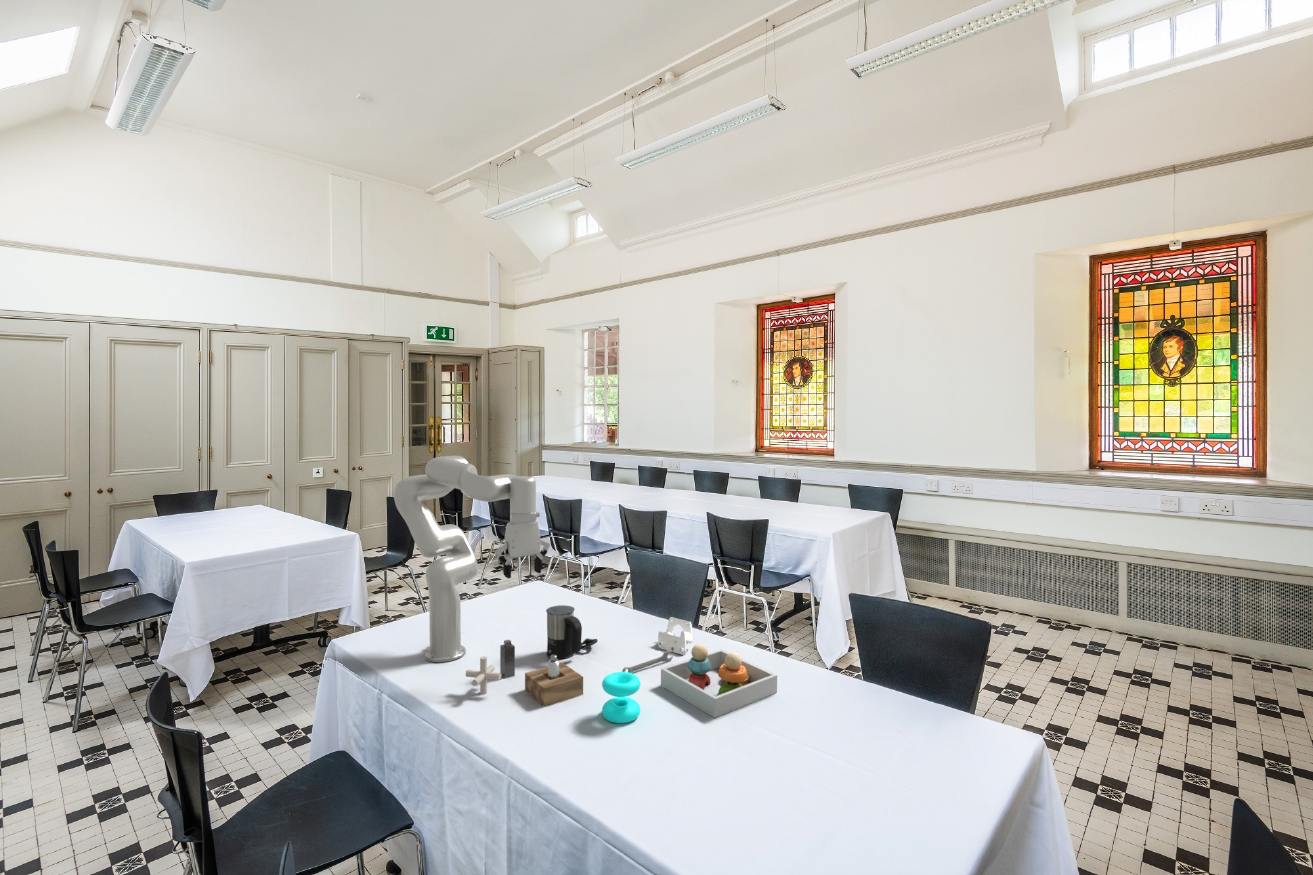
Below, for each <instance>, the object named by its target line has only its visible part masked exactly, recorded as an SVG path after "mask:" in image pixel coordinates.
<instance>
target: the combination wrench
mask: <svg viewBox="0 0 1313 875" xmlns="http://www.w3.org/2000/svg"><path fill="white" fill-rule="evenodd" d="M670 653H672V652H671V650H669V651H668V650H665V651H664V652H663V654H662V655H661V656H659V657H657V658H653V659H650V660H647V661H644V662H641V663H638V664H635V665H631V666H625V667H623V668H622V671H621V672H626V670H627V672H629V673H632V674H633V672H636V671H639V670H642V669H644V668H647V667H650V666H653V665H655V664H658V663H660V662H664V663H666V664H667V663H669V662H671V661H672V660H673V658H674V657H673V656H670V657H668V655H669V654H670Z"/></svg>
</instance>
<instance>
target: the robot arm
mask: <svg viewBox="0 0 1313 875" xmlns="http://www.w3.org/2000/svg"><path fill="white" fill-rule="evenodd" d="M424 472H425V474H418V475H410V476H407V477H405V478H402V479H400V481H398V482H397V484H396V485H395V488H394V494H393V500H394V503H395V507H396V509H397V511H398V512H399V514H400V515H401V517H402V518H403V520H404V521H405V523H406V525H407V528H408V529H409V531H410V534H411V536H412V539H413V540H414V542H415V545H416V548H418V551H419V552H420V555H421V556H422V557H424V558H426V559H429V558H435V557H439V556H440V557H441V556H443V555H447V556H444V557H441V558H438V559H435V560H433V561H432V562H431V563H429V565H428V566H427V568H426V571H425V580H426V584H427V585H426V586H427V589H428V591H427V592H428V601H429V603H428V606H429V608H428V609H429V611H428V612H429V648H428V649H426V650H425V652H424V659H425V660H427V661H429V662H433V663H444V662H445V663H446V662H451V661H455V660H458V659H460V658H462V657H464V655H465V654H466V652H467V649H466V647H465V646H464V645H462V643H461V638H462V637H461V634H462V633H461V628H462V627H461V625H462V624H461V623H462V621H461V620H462V618H461V616H462V615H461V614H462V613H461V611H462V610H461V597H460V594H459V591H457V588H456V586H457V585H458V584H462V583H465V582H467V581H470V580H472V579H473V578H475V576H477V573H478V571H479V570H478V569H479V565H478V560H477V558H476V556H475V553H474V551H473V549H472V547H471V545H470V543H469V541H468V539H467V536H466V535H465V533H464V531H463V529H461V528H460V527H459V526H458V525H455V524H451V523H450V524H442V525H440V524H439V523H438V522H437V520H436V518H435V515H434V513H433V512H432V511H431V510H430V508H428V507H427V506H426V505H425V504H423V503H422V501H429V500H435V499H440V498H443V497H445V496H446V495H448V494H449V493H450V492H452V491H453V490H454V489H457V490H460V492H461V493H462V494H463V495H464V496H465V497H467V498H470V499H473V500H476V501H477V500H478V501H481V502H486V503H491V502H497V501H501V500H508V499H509V522H507V524H506V527H505V532H504V543H503V544H502V545H500V546H499V547H498V548H496V549H495V550H494V554H495V556H496V558H497V559H498V560H499V561H500V562H501V563H502V564H503V565H502V566H503V568H502V570H503V572H502V573H503V575H504V578H507V579H511V578H512V565H511V564H510V563H511V561H512V560H513V559H516V558H523V557H524V558H525V557H529V556H535V557H534V559H533V560H534V566H533V568H534V570H533V571H534V572H536V573H537V574H541V573H542V570H543V560H544V557H545V556H546V555H547V554H548V550H549V548H550V546H551V544H550V542H549V543H548V542H546V541H544V540H542V539H541V532H540V528H539V522H538V521H537V518H540V517H541V515H540V512H537V481H536V478H534V477H533V476H529V475H528V476H527V475H525V476H524V475H522V476H521V475H517V474H513V473H512V474H511V473H505V474H504V473H503V474H496V475H490V476H485V475H480V474H478V470H477V467H476V466H475V465H474V464H472V463H470V462H468V460H467V459H466V458H465V457H464V456H461V455H445V456H437V457H433V458H432V459H430V460H429V461H428V462H427V464H426V465H425V467H424ZM541 546H543V547H542V549H541ZM503 553H504V555H505V556H503Z"/></svg>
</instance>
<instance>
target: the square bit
mask: <svg viewBox="0 0 1313 875" xmlns="http://www.w3.org/2000/svg"><path fill="white" fill-rule="evenodd" d="M499 647H500V650H499V651H500V655H499V657H500V658H499V659H500V660H499V662H500V665H499V667H500V668H499V670H500V672H499V673H501V678H503V679H509V678H511V677H515V676H516V669H515V668H516V661H515V660H516V658H515V657H516V646H515V645H514V644H513V643H512V640H510V639H504V640H503V644H501V645H499Z"/></svg>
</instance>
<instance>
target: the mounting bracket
mask: <svg viewBox="0 0 1313 875" xmlns="http://www.w3.org/2000/svg"><path fill="white" fill-rule="evenodd" d="M677 626H680V627H681V628H682V631H681V632H680V635H679V636H677V635H676V634H675V633H674V629H675V627H677ZM657 637H658V638H657V640H658V642H657V645H658V648H660V649H662V650H665V651H669V650H671V652H670V653H672V652H673V653H675V654H678V655H682V656H683V655H686V653H687V646H688V644H692V643H693V642H694V641H693V640H694V639H693V626H692V622H691V621H688V620H685V619H680V618H677V617H674V616H670V617H669V620H668V623H667V627H666V631H665V632H663V631H660V630H659V631H658V632H657Z"/></svg>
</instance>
